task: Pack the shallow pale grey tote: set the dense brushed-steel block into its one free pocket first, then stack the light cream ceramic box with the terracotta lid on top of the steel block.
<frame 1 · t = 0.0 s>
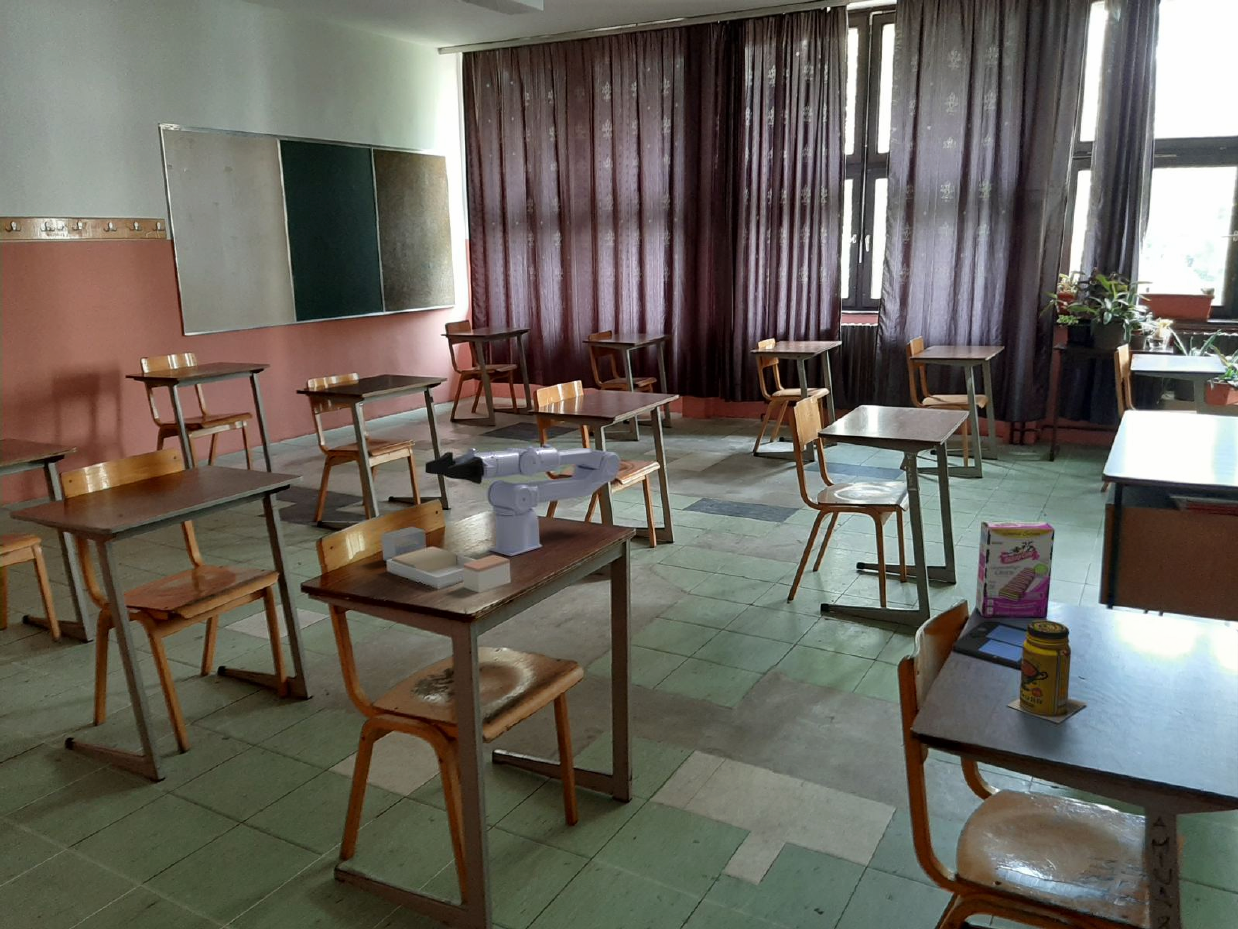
hand: (437, 470, 191), 22 cm above the table, tool horizontal, fingers open, 7 cm apart
candy bar box: (1011, 614, 163), on the table
tote: (436, 572, 194), on the table
game console: (1010, 654, 148), on the table
condiment: (1046, 707, 129), on the table
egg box: (487, 585, 186), on the table
steel block: (405, 558, 206), on the table
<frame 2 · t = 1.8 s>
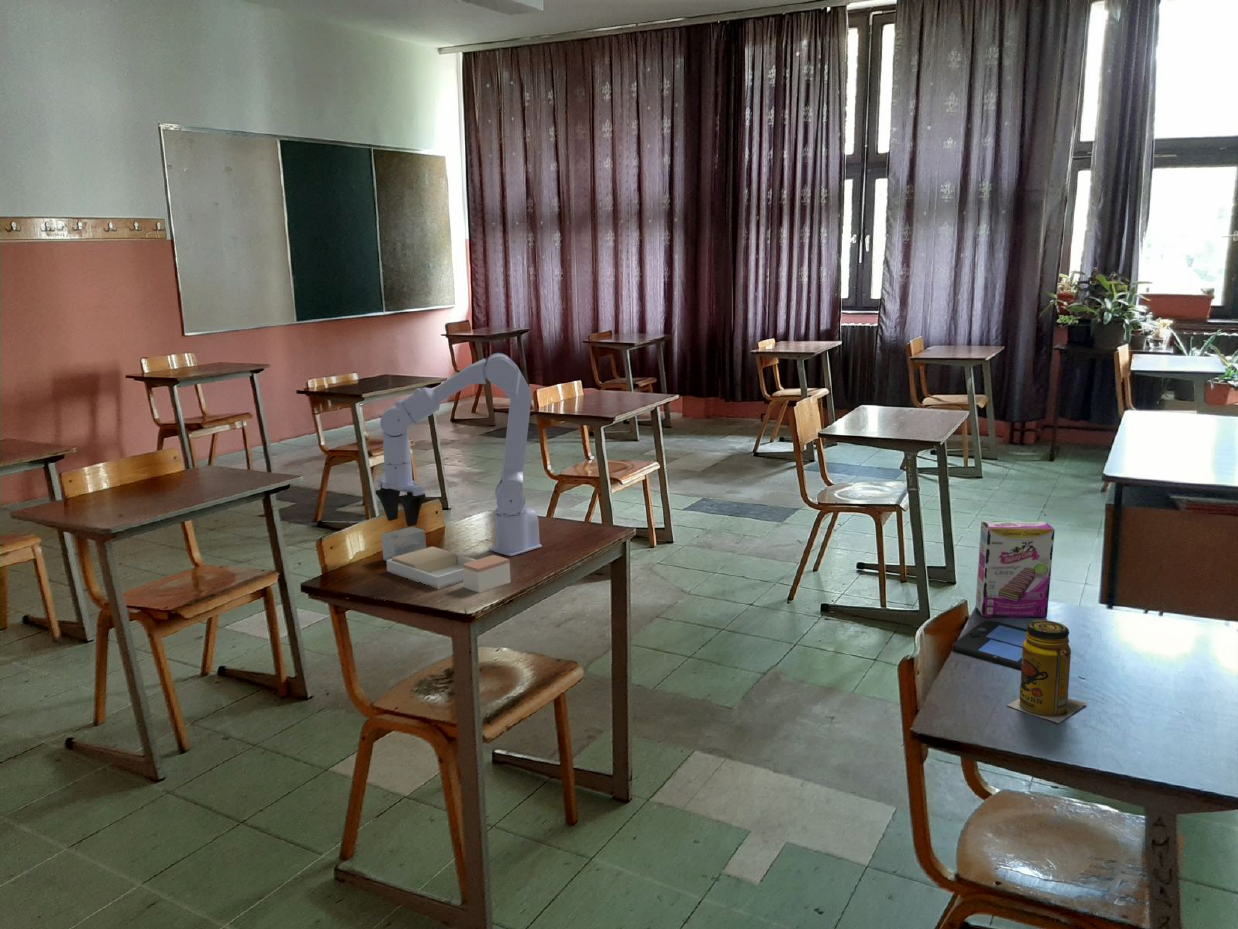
hand: (402, 522, 204), 8 cm above the table, tool pointing down, fingers open, 7 cm apart
nothing on the table moved.
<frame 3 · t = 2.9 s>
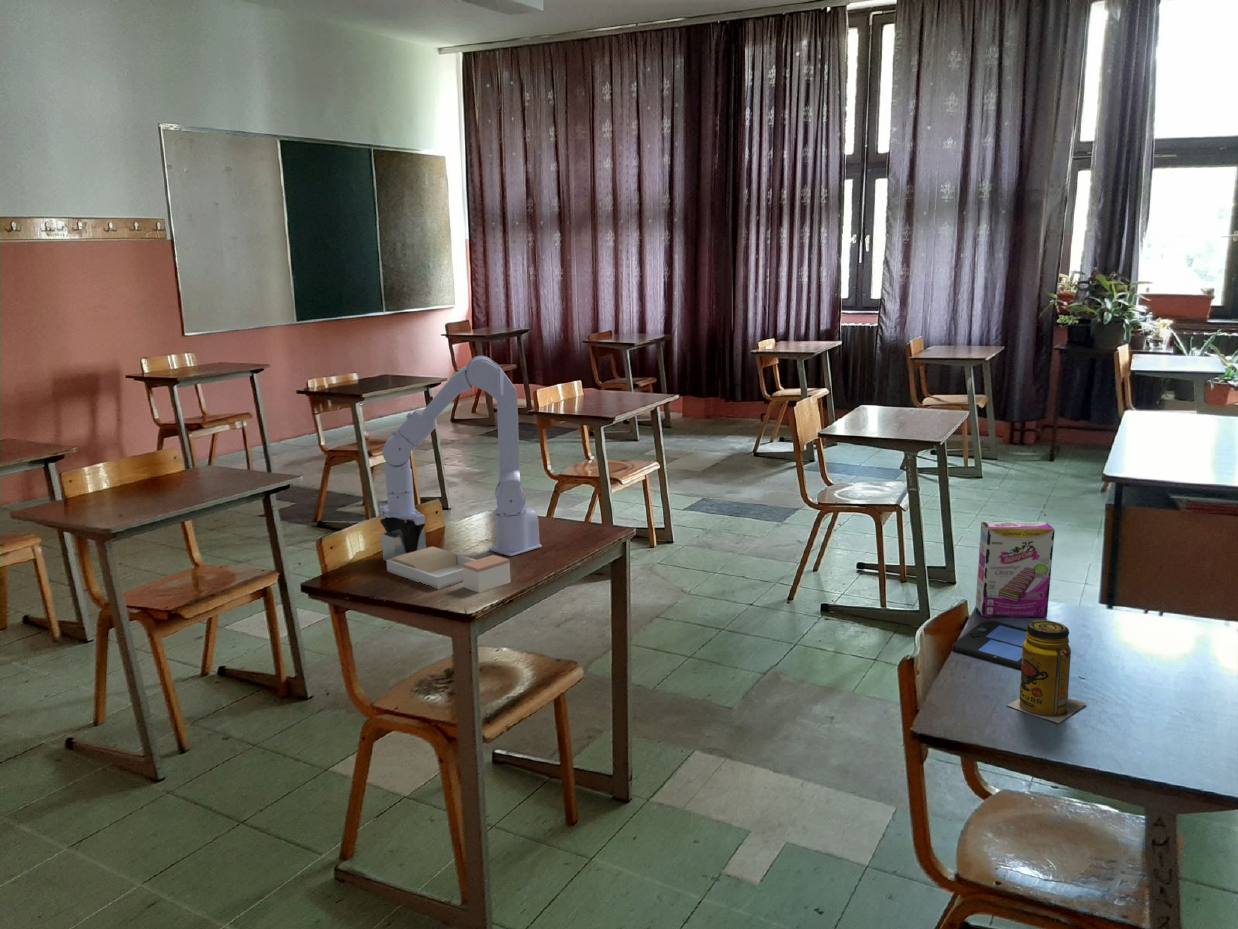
hand: (404, 550, 205), 2 cm above the table, tool pointing down, fingers closed on steel block, 5 cm apart
steel block: (405, 557, 206), on the table, touching gripper
everything else where it was.
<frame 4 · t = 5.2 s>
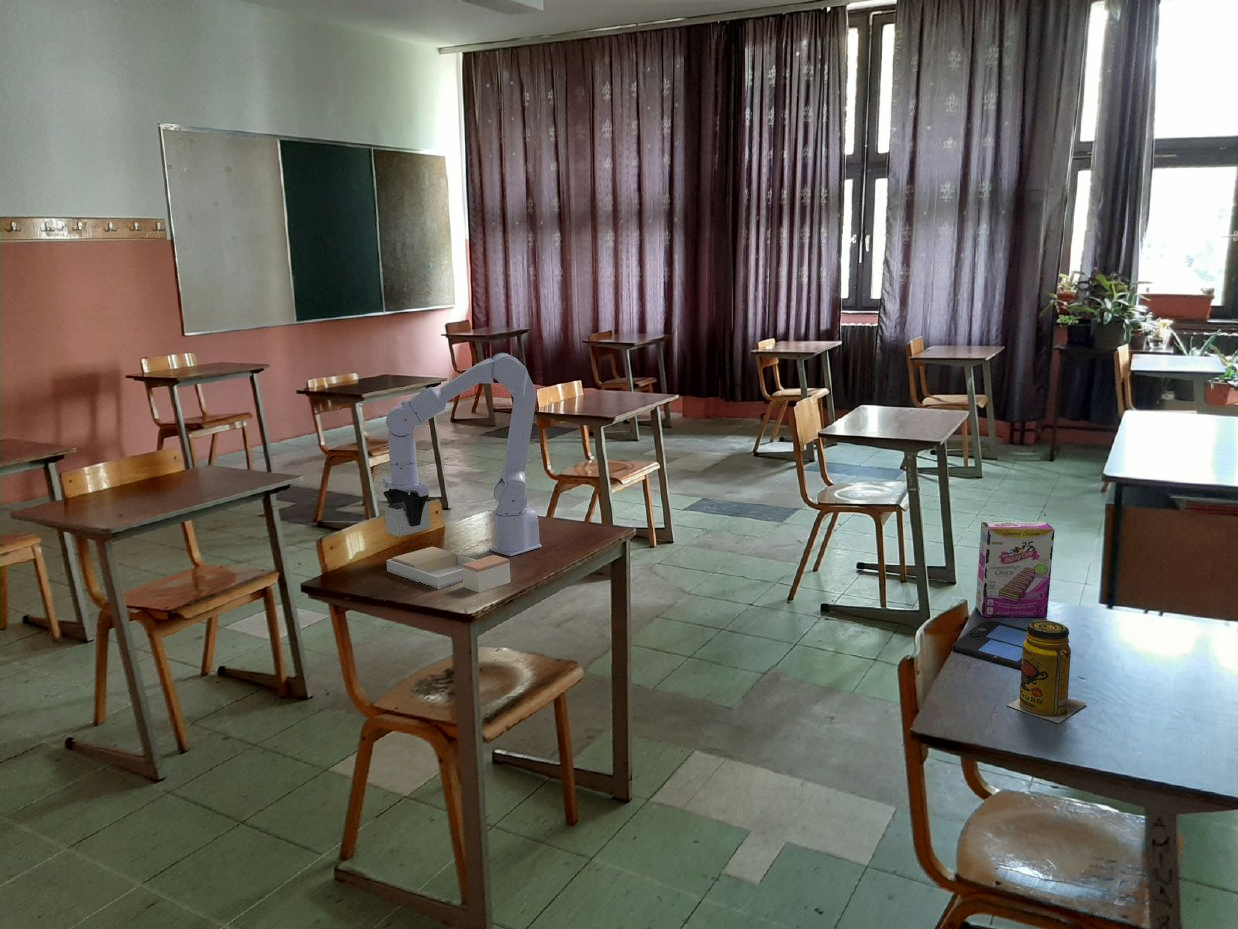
hand: (408, 523, 202), 8 cm above the table, tool pointing down, fingers closed on steel block, 5 cm apart
steel block: (408, 530, 202), point 7 cm above the table, touching gripper
everything else where it was.
when the fingers open (4 cm above the table, at t = 7.8 s): steel block drops 2 cm, resting on tote.
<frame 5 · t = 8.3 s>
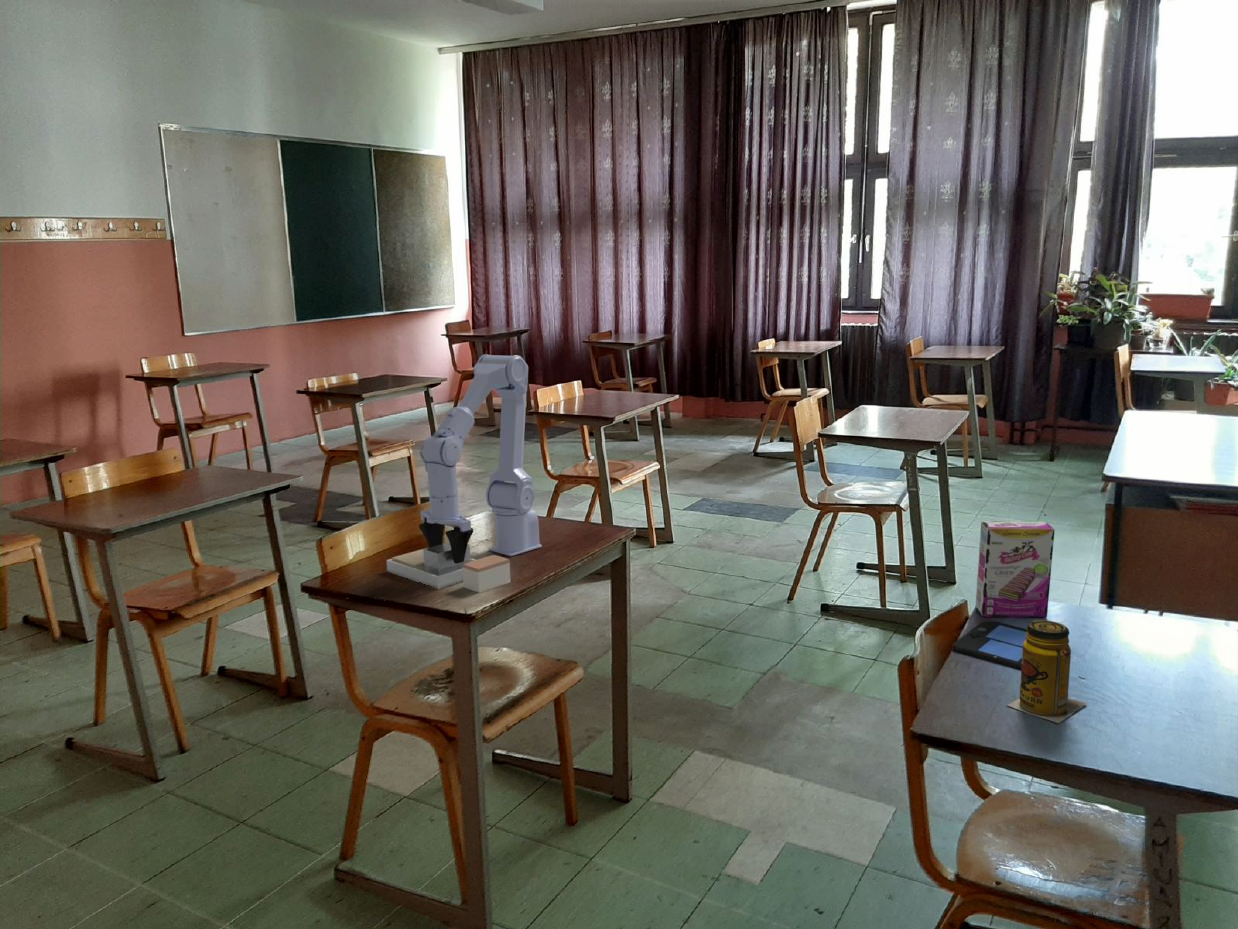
hand: (447, 558, 191), 4 cm above the table, tool pointing down, fingers open, 7 cm apart
steel block: (448, 574, 191), resting on tote
everything else where it was.
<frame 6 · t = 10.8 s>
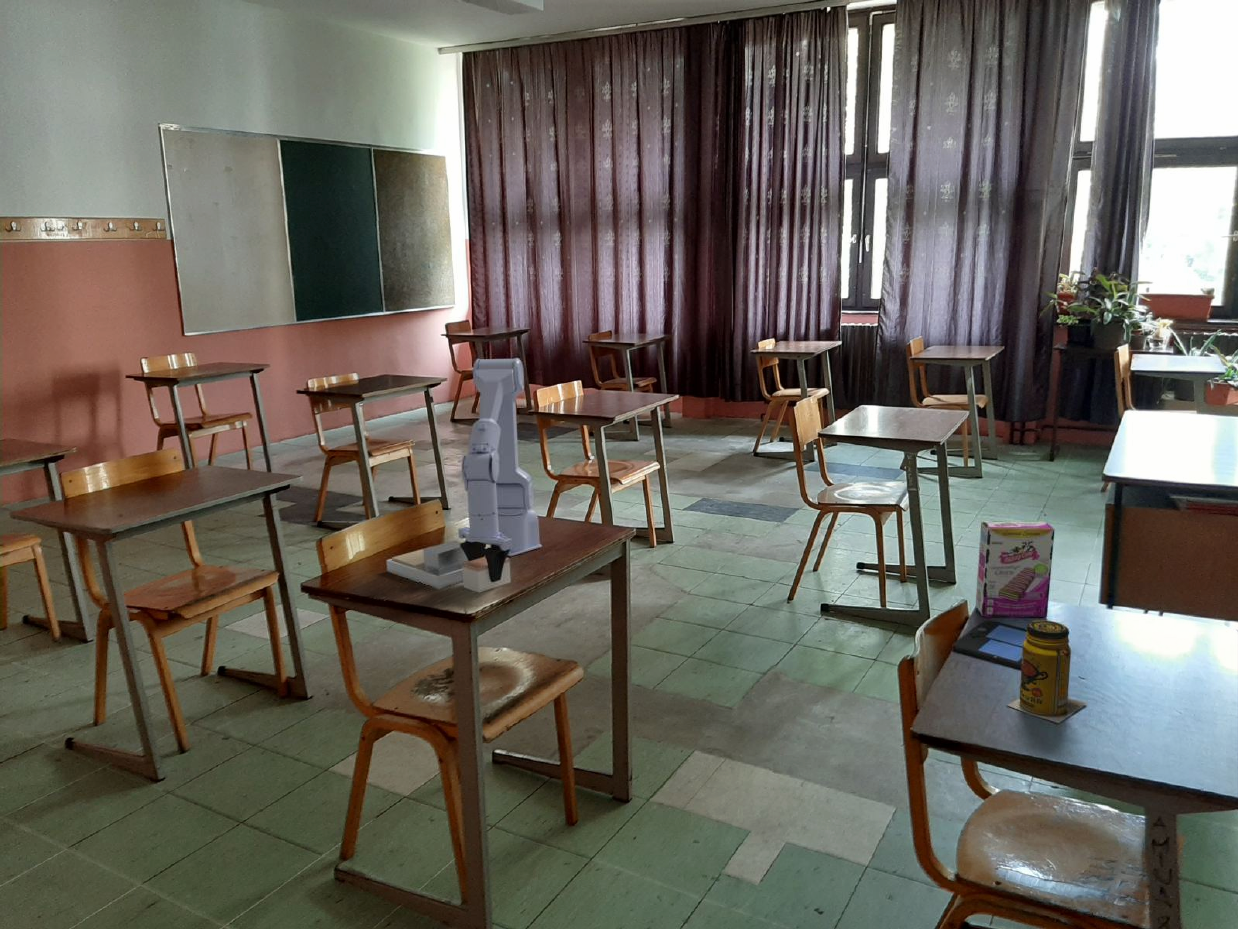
hand: (486, 578, 186), 1 cm above the table, tool pointing down, fingers closed on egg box, 5 cm apart
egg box: (487, 584, 186), on the table, touching gripper
everything else where it was.
when the fingers open (9 cm above the table, at t = 14.6 s): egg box stays where it is, resting on steel block.
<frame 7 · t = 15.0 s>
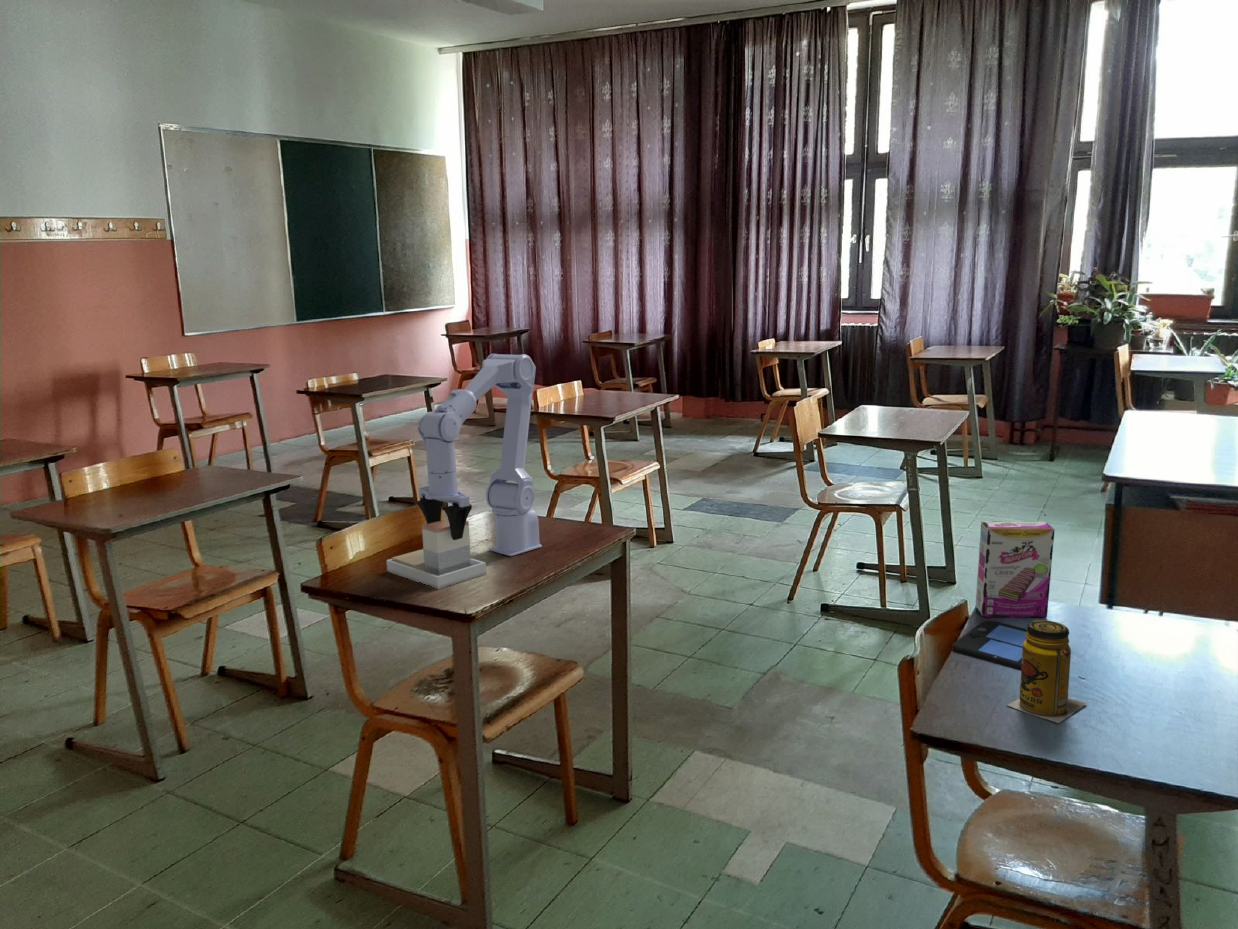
hand: (446, 535, 190), 9 cm above the table, tool pointing down, fingers open, 7 cm apart
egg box: (446, 546, 190), point 6 cm above the table, touching steel block
steel block: (448, 574, 191), resting on tote, touching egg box
everything else where it was.
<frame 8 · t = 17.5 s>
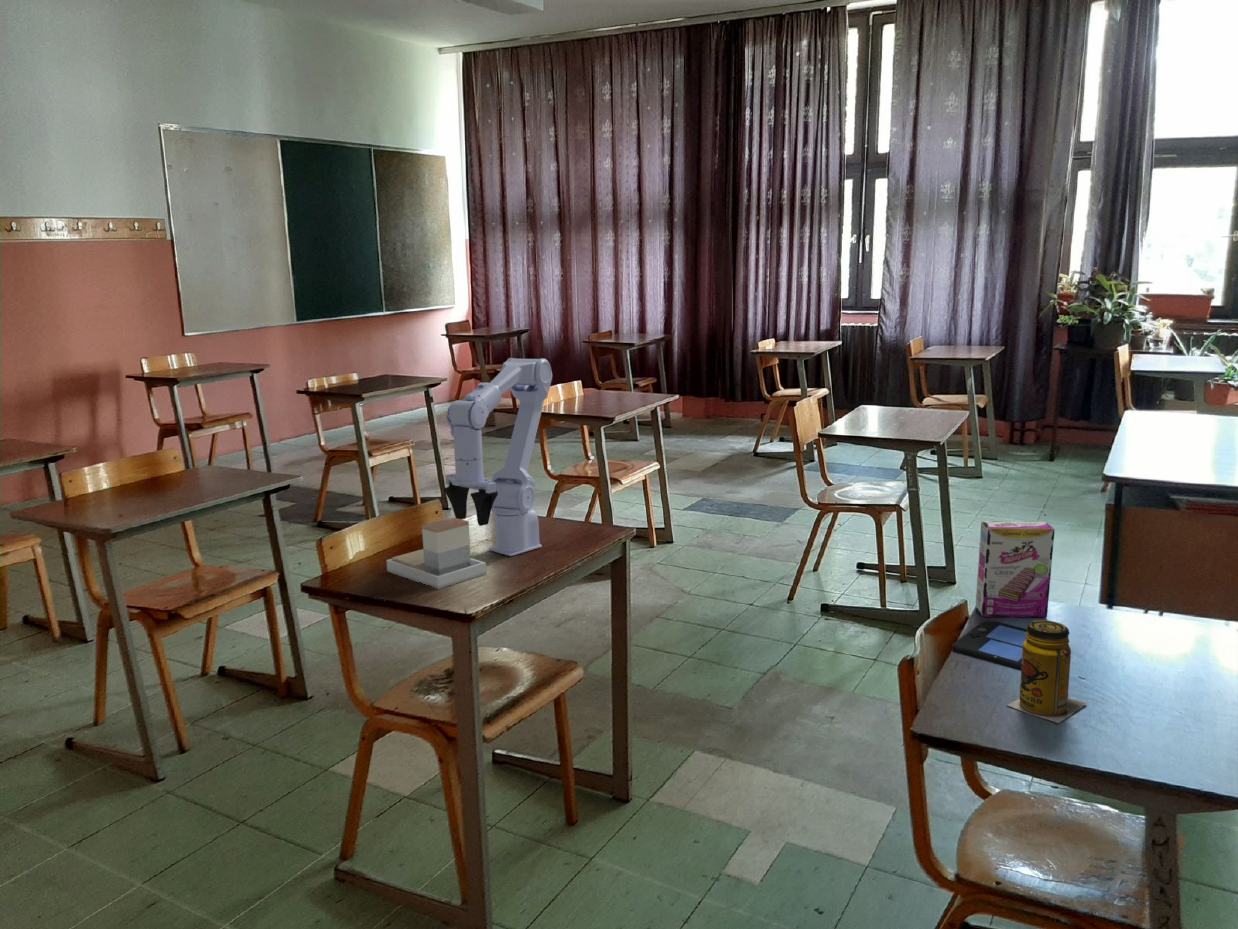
hand: (472, 521, 194), 10 cm above the table, tool pointing down, fingers open, 7 cm apart
nothing on the table moved.
at the end: steel block 0.2 cm from the target spot on the tote, point 0.5 cm above the tote's base; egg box 0.1 cm off-centre on the steel block, point 6.0 cm above the steel block's base; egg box tilted 0° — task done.
